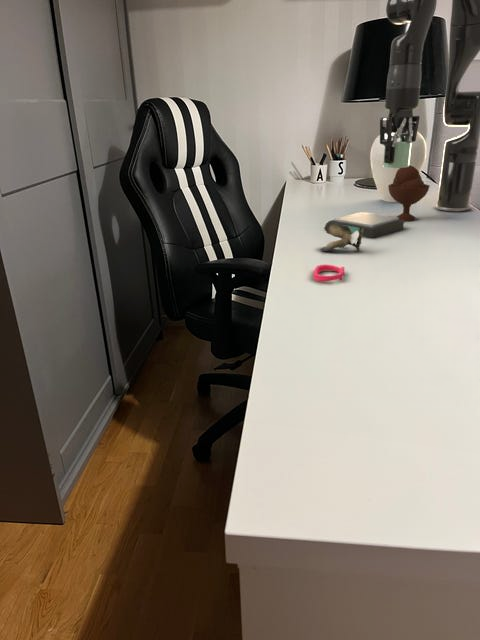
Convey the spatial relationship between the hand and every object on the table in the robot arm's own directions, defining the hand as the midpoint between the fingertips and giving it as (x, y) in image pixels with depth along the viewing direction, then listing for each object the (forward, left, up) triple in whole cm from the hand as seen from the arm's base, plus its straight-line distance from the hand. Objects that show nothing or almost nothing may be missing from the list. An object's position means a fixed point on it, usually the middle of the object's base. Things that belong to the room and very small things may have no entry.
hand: (396, 161), depth 123 cm
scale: (+1, -6, -18) cm, 19 cm away
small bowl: (0, 0, -1) cm, 1 cm away
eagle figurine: (+22, +2, -18) cm, 29 cm away
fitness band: (+39, +11, -18) cm, 45 cm away
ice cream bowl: (-17, -5, -18) cm, 25 cm away
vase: (-41, -24, -18) cm, 51 cm away
